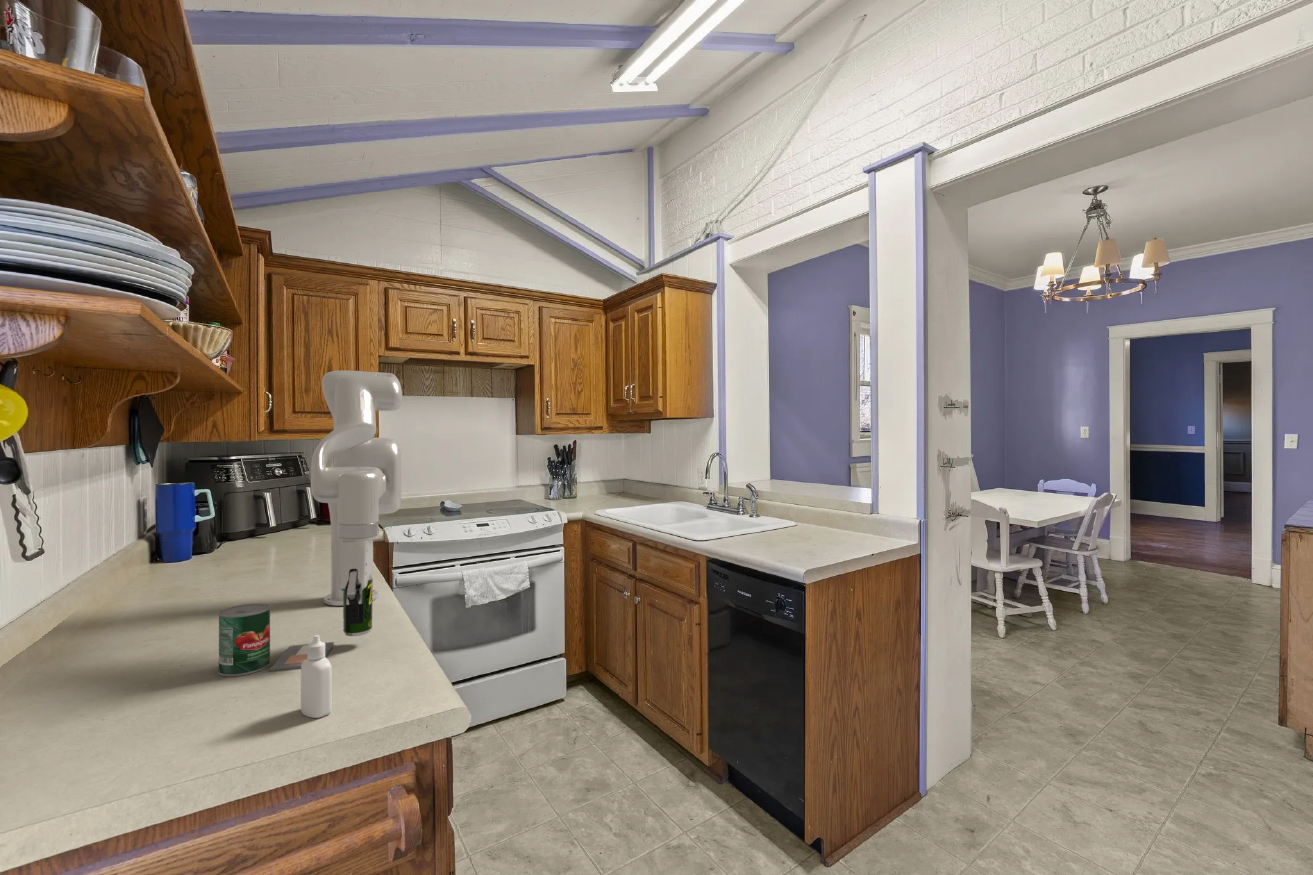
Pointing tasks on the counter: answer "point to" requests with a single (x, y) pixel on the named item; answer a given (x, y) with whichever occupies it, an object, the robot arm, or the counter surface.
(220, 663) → the canned tomato
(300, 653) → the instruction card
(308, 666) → the eye dropper bottle
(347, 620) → the robot arm
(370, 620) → the beer can
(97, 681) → the counter surface
